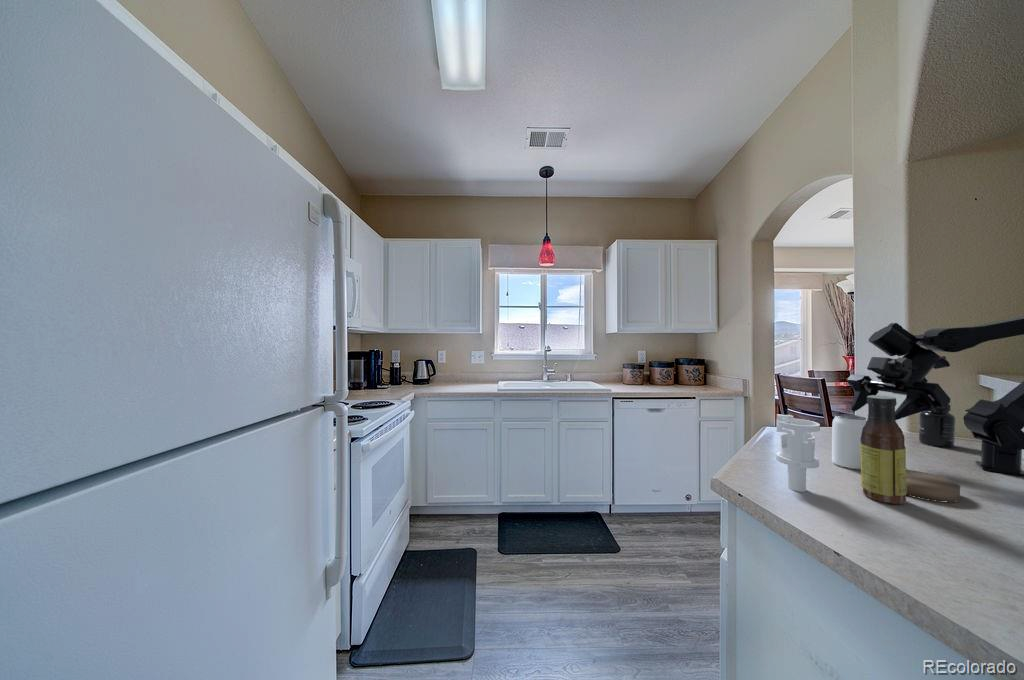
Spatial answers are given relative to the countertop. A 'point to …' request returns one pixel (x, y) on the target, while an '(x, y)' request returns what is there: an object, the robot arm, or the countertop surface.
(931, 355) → the robot arm
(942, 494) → the walnut stand
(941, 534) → the countertop surface
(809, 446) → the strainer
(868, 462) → the sauce bottle
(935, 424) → the supplement bottle
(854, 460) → the can
